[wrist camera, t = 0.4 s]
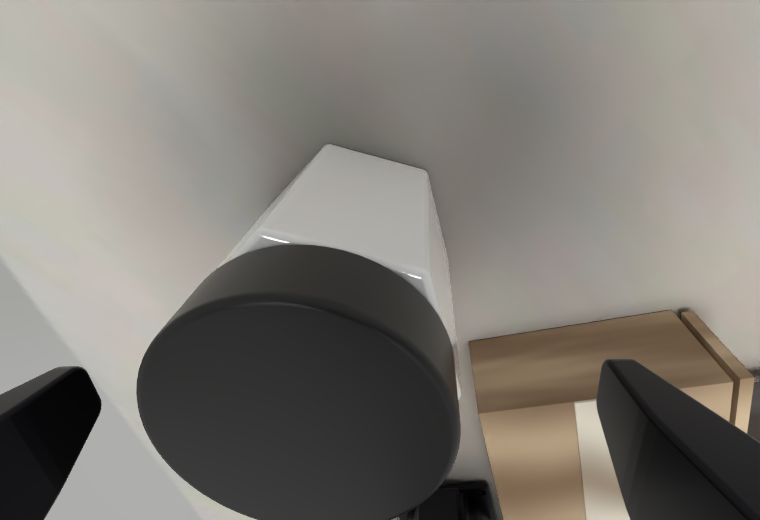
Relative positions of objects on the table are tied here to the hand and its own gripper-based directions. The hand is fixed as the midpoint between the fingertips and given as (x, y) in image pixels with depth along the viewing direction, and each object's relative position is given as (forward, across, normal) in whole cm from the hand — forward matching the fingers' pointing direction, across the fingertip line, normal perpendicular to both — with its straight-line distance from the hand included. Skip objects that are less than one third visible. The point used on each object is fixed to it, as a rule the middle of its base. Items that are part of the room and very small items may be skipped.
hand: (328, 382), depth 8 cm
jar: (+14, +2, +3) cm, 14 cm away
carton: (+14, -9, +14) cm, 22 cm away
